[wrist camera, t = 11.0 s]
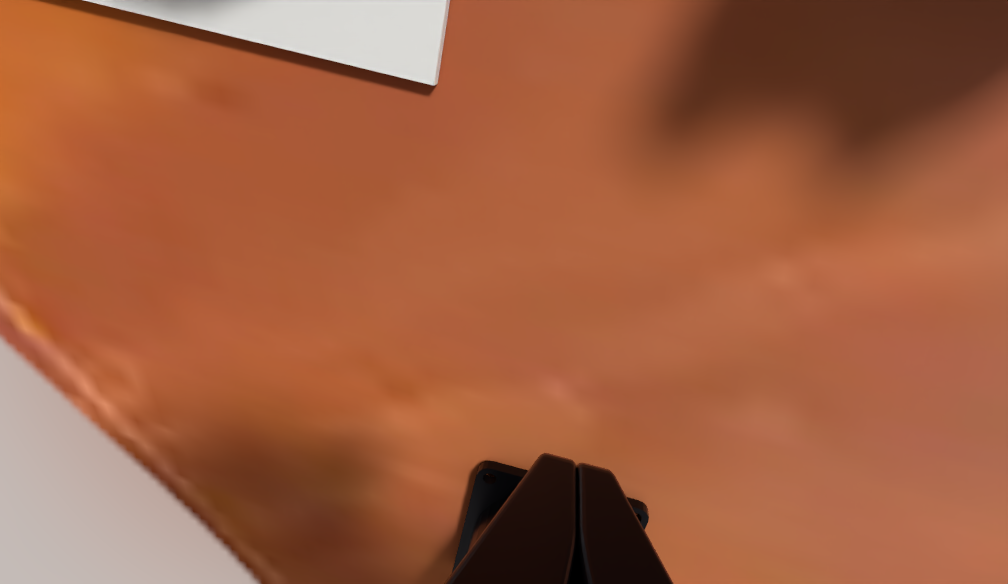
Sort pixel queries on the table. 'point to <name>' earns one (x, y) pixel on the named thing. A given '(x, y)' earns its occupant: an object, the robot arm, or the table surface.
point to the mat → (323, 28)
